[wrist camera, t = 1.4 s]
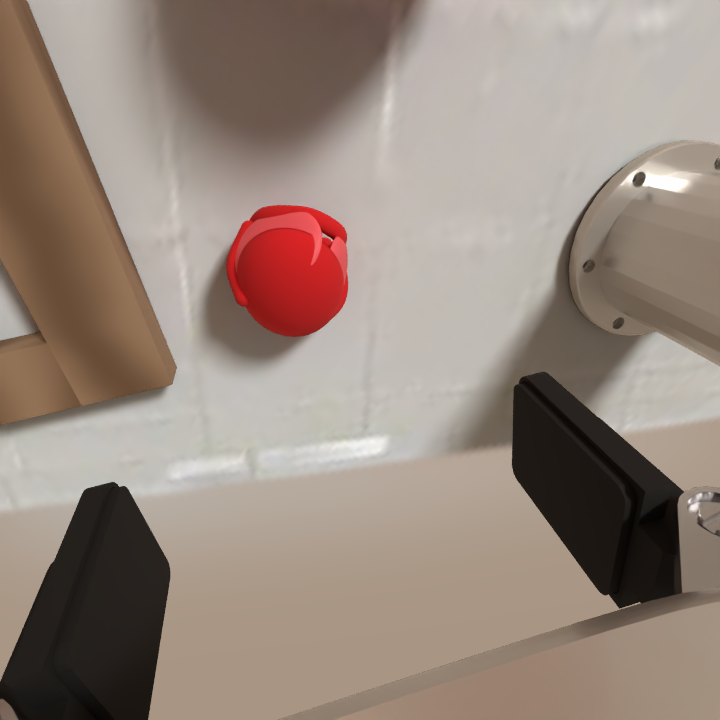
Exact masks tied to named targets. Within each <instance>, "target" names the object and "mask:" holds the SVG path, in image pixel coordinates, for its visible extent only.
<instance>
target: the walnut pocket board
mask: <svg viewBox="0 0 720 720" xmlns="http://www.w3.org/2000/svg"><path fill="white" fill-rule="evenodd" d="M0 259H1V261H2V263H3V265H4V267H5V268H6V270H7V272H8V274H9V276H10V277H11V279H12V281H13V283H14V285H15V286H16V288H17V290H18V292H19V294H20V295H21V297H22V299H23V301H24V303H25V304H26V306H27V308H28V310H29V312H30V313H31V315H32V317H33V319H34V321H35V322H36V324H37V326H38V328H39V330H40V331H41V332H38V333H34V334H29V335H25V336H20V337H15V338H11V339H6V340H2V341H0V425H3V424H7V423H11V422H15V421H20V420H24V419H28V418H32V417H37V416H41V415H45V414H49V413H54V412H58V411H62V410H66V409H71V408H75V407H79V406H83V405H88V404H92V403H96V402H100V401H105V400H109V399H113V398H117V397H122V396H126V395H130V394H134V393H139V392H143V391H147V390H151V389H155V388H160V387H164V386H168V385H172V384H173V380H174V376H175V372H176V369H177V367H176V365H175V362H174V360H173V357H172V355H171V352H170V350H169V348H168V345H167V343H166V340H165V338H164V335H163V333H162V330H161V328H160V325H159V323H158V321H157V318H156V316H155V313H154V311H153V308H152V306H151V303H150V301H149V299H148V296H147V294H146V291H145V289H144V286H143V284H142V281H141V279H140V276H139V274H138V272H137V269H136V267H135V264H134V262H133V259H132V257H131V254H130V252H129V249H128V247H127V245H126V242H125V240H124V237H123V235H122V232H121V230H120V227H119V225H118V223H117V220H116V218H115V215H114V213H113V210H112V208H111V205H110V203H109V200H108V198H107V196H106V193H105V191H104V188H103V186H102V183H101V181H100V178H99V176H98V173H97V171H96V169H95V166H94V164H93V161H92V159H91V156H90V154H89V151H88V149H87V147H86V144H85V142H84V139H83V137H82V134H81V132H80V129H79V127H78V124H77V122H76V120H75V117H74V115H73V112H72V110H71V107H70V105H69V102H68V100H67V97H66V95H65V93H64V90H63V88H62V85H61V83H60V80H59V78H58V75H57V73H56V71H55V68H54V66H53V63H52V61H51V58H50V56H49V53H48V51H47V48H46V46H45V44H44V41H43V39H42V36H41V34H40V31H39V29H38V26H37V24H36V21H35V19H34V17H33V14H32V12H31V9H30V7H29V4H28V2H27V1H26V0H0Z"/></svg>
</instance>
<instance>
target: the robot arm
mask: <svg viewBox="0 0 720 720" xmlns="http://www.w3.org/2000/svg"><path fill="white" fill-rule="evenodd" d="M569 281H570V288H571V291H572V295H573V299H574V301H575V303H576V304H577V306H578V308H579V310H580V311H581V313H582V314H583V315H584V316H585V317H586V318H587V319H588V320H589V321H591V322H593V323H594V324H596V325H597V326H599V327H600V328H602V329H604V330H606V331H608V332H610V333H613V334H619V335H626V336H631V335H643V334H647V333H651V332H655V331H656V332H658V333H660V334H662V335H664V336H666V337H667V338H669V339H671V340H673V341H675V342H677V343H678V344H680V345H682V346H684V347H686V348H688V349H689V350H691V351H693V352H695V353H697V354H698V355H700V356H702V357H704V358H706V359H708V360H709V361H711V362H713V363H715V364H717V365H719V366H720V145H719V144H715V143H709V142H703V141H679V142H674V143H669V144H664V145H662V146H659V147H657V148H655V149H652V150H650V151H647V152H645V153H644V154H642V155H641V156H639V157H638V158H636V159H634V160H633V161H631V162H630V163H628V164H627V165H626V166H625V167H624V168H623V169H621V170H620V171H619V172H618V173H617V174H616V175H615V176H613V177H612V178H611V179H610V181H609V182H608V183H607V184H606V185H605V186H604V188H603V189H602V190H601V191H600V192H599V193H598V194H597V196H596V197H595V199H594V201H593V202H592V204H591V205H590V207H589V208H588V210H587V211H586V213H585V215H584V217H583V219H582V221H581V224H580V226H579V228H578V230H577V232H576V236H575V239H574V243H573V246H572V249H571V255H570V263H569ZM512 468H513V472H514V475H515V477H516V479H517V480H518V482H519V483H520V484H521V486H522V487H523V488H524V490H525V491H526V493H527V494H528V495H529V497H530V498H531V499H532V501H533V502H534V504H535V505H536V506H537V508H538V509H539V510H540V512H541V513H542V514H543V516H544V517H545V519H546V520H547V521H548V523H549V524H550V525H551V526H552V528H553V529H554V531H555V532H556V533H557V535H558V536H559V537H560V539H561V540H562V542H563V543H564V544H565V546H566V547H567V549H568V550H569V551H570V552H571V554H572V555H573V557H574V558H575V559H576V561H577V562H578V564H579V565H580V566H581V568H582V569H583V570H584V572H585V573H586V574H587V576H588V577H589V579H590V580H591V581H592V583H593V584H594V585H595V587H596V588H597V589H598V590H599V592H600V593H602V594H603V595H608V594H609V595H610V597H611V598H612V599H613V601H614V602H615V603H616V604H617V606H618V607H619V608H622V607H626V606H629V605H632V604H635V603H638V602H640V603H641V604H638V605H635V606H631V607H628V608H625V609H621V610H618V611H615V612H611V613H608V614H604V615H601V616H598V617H595V618H591V619H588V620H584V621H581V622H578V623H575V624H572V625H568V626H565V627H562V628H559V629H556V630H553V631H550V632H547V633H543V634H540V635H537V636H534V637H531V638H528V639H525V640H521V641H518V642H515V643H512V644H509V645H506V646H503V647H500V648H496V649H493V650H490V651H487V652H484V653H481V654H478V655H474V656H471V657H468V658H465V659H462V660H459V661H456V662H453V663H450V664H447V665H444V666H441V667H438V668H435V669H431V670H428V671H425V672H422V673H419V674H416V675H413V676H410V677H407V678H404V679H400V680H398V681H394V682H392V683H389V684H385V685H382V686H379V687H376V688H373V689H370V690H367V691H364V692H361V693H358V694H355V695H351V696H349V697H345V698H342V699H339V700H336V701H333V702H330V703H327V704H324V705H321V706H318V707H315V708H312V709H309V710H306V711H303V712H300V713H297V714H294V715H291V716H288V717H285V718H282V719H279V720H720V488H717V487H709V486H703V487H694V488H691V489H689V490H686V491H685V492H684V491H682V490H681V489H680V488H679V487H678V486H677V485H676V484H675V483H673V482H672V481H671V480H670V479H669V478H668V477H666V476H665V475H664V474H663V473H662V472H661V471H660V470H659V469H657V468H656V467H655V466H654V465H653V464H651V462H649V461H648V460H647V459H646V458H645V457H644V456H642V455H641V454H640V453H639V452H638V451H637V450H636V449H634V448H633V447H632V446H631V445H630V444H629V443H628V442H626V441H625V440H624V439H623V438H622V437H621V436H620V435H619V434H617V433H616V432H615V431H614V430H613V429H612V428H611V427H609V426H608V425H607V424H606V423H605V422H604V421H603V420H601V419H600V418H598V417H597V416H596V415H595V414H593V413H592V412H591V411H590V410H589V409H588V408H587V407H586V406H584V405H583V404H582V403H581V402H580V401H579V400H578V399H576V398H575V397H574V396H573V395H572V394H571V393H570V392H568V391H567V390H566V389H565V388H564V387H563V386H562V385H560V384H559V383H558V382H557V381H556V380H555V379H554V378H552V377H551V376H550V375H549V374H548V373H546V372H540V373H536V374H532V375H528V376H525V377H522V378H521V379H520V381H519V384H517V385H515V387H514V400H513V445H512ZM169 582H170V567H169V563H168V561H167V559H166V557H165V555H164V553H163V552H162V550H161V548H160V546H159V544H158V543H157V541H156V539H155V537H154V535H153V533H152V532H151V530H150V528H149V526H148V525H147V523H146V521H145V519H144V517H143V515H142V514H141V512H140V510H139V508H138V506H137V504H136V503H135V501H134V499H133V497H132V495H131V494H130V492H129V490H128V489H127V487H125V486H121V487H119V486H118V484H116V483H115V482H111V483H107V484H103V485H99V486H95V487H91V488H87V489H86V490H84V492H83V493H82V496H81V498H80V500H79V503H78V505H77V508H76V510H75V512H74V515H73V517H72V520H71V522H70V524H69V527H68V529H67V531H66V534H65V536H64V539H63V541H62V544H61V546H60V548H59V551H58V553H57V555H56V558H55V560H54V562H53V563H52V564H51V565H50V567H49V569H48V570H47V573H46V575H45V577H44V580H43V582H42V584H41V587H40V589H39V592H38V594H37V596H36V599H35V601H34V603H33V606H32V608H31V610H30V613H29V615H28V618H27V620H26V622H25V625H24V627H23V629H22V632H21V634H20V637H19V639H18V642H17V643H16V646H15V648H14V651H13V653H12V656H11V658H10V660H9V662H8V665H7V667H6V670H5V672H4V674H3V677H2V679H1V681H0V720H148V715H149V710H150V703H151V697H152V691H153V684H154V678H155V671H156V665H157V659H158V653H159V646H160V639H161V633H162V627H163V621H164V614H165V608H166V601H167V595H168V589H169Z"/></svg>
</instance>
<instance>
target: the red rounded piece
mask: <svg viewBox="0 0 720 720" xmlns="http://www.w3.org/2000/svg"><path fill="white" fill-rule="evenodd" d="M322 233H324V234H326V235H327V236H329V237H330V238H332V239H333V242H331V240H330V239H328V238H322ZM346 241H347V233H346V231H345V229H344V227H343V226H342V225H341V224H340V223H339V222H337V221H336V220H335V219H333V218H332V217H330V216H328V215H326V214H324V213H322V212H320V211H318V210H315V209H312V208H309V207H303V206H290V205H277V206H267V207H263V208H261V209H259V210H258V211H256V212H255V213H254V214H253V216H252V217H251V219H250V220H249V221H245V222H244V223H243V224H242V226H241V228H240V230H239V232H238V234H237V236H236V238H235V240H234V242H233V244H232V246H231V249H230V251H229V254H228V258H227V264H226V268H227V276H228V280H229V283H230V286H231V288H232V291H233V294H234V297H235V300H236V302H237V303H238V304H239V305H241V306H245V307H246V309H247V310H248V312H249V313H250V314H251V316H252V317H253V318H254V319H255V320H256V321H257V322H258V323H259V324H261V325H262V326H263V327H265V328H266V329H268V330H270V331H272V332H274V333H277V334H280V335H284V336H291V337H296V336H304V335H308V334H311V333H313V332H315V331H317V330H319V329H321V328H322V327H323V326H325V325H326V324H327V323H328V322H329V321H330V320H331V319H332V318H333V317H334V316H335V315H336V314H337V313H338V312H339V311H340V310H341V308H342V307H343V305H344V303H345V300H346V297H347V292H348V277H347V248H346Z"/></svg>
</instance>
